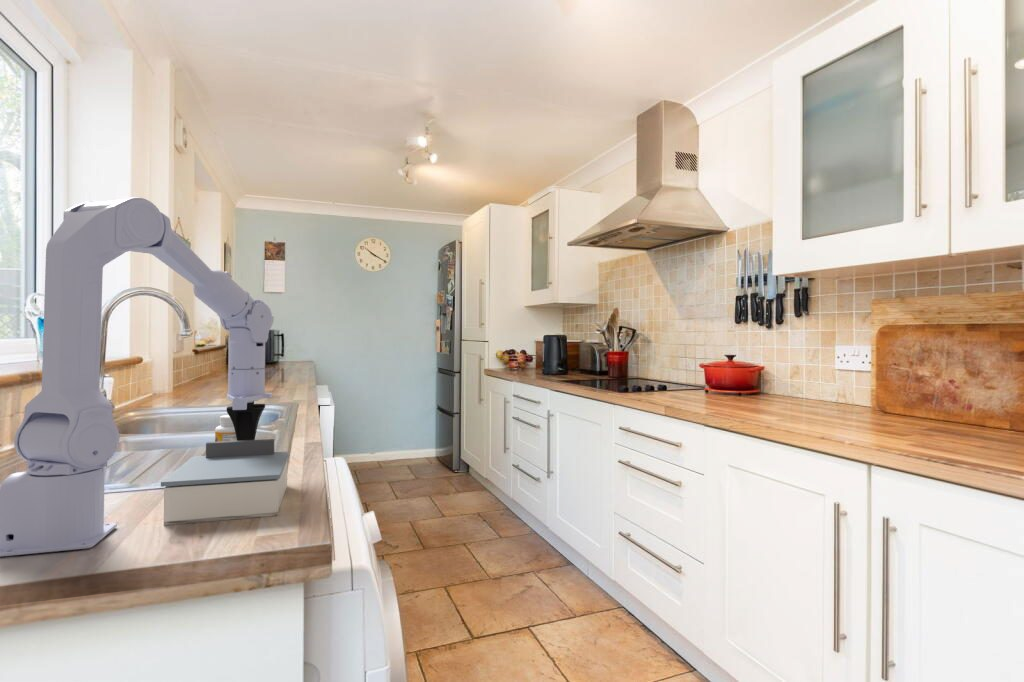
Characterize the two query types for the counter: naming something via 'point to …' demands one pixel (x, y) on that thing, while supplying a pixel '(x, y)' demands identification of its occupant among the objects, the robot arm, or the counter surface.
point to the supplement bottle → (225, 430)
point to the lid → (231, 463)
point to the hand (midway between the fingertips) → (246, 446)
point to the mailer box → (223, 500)
